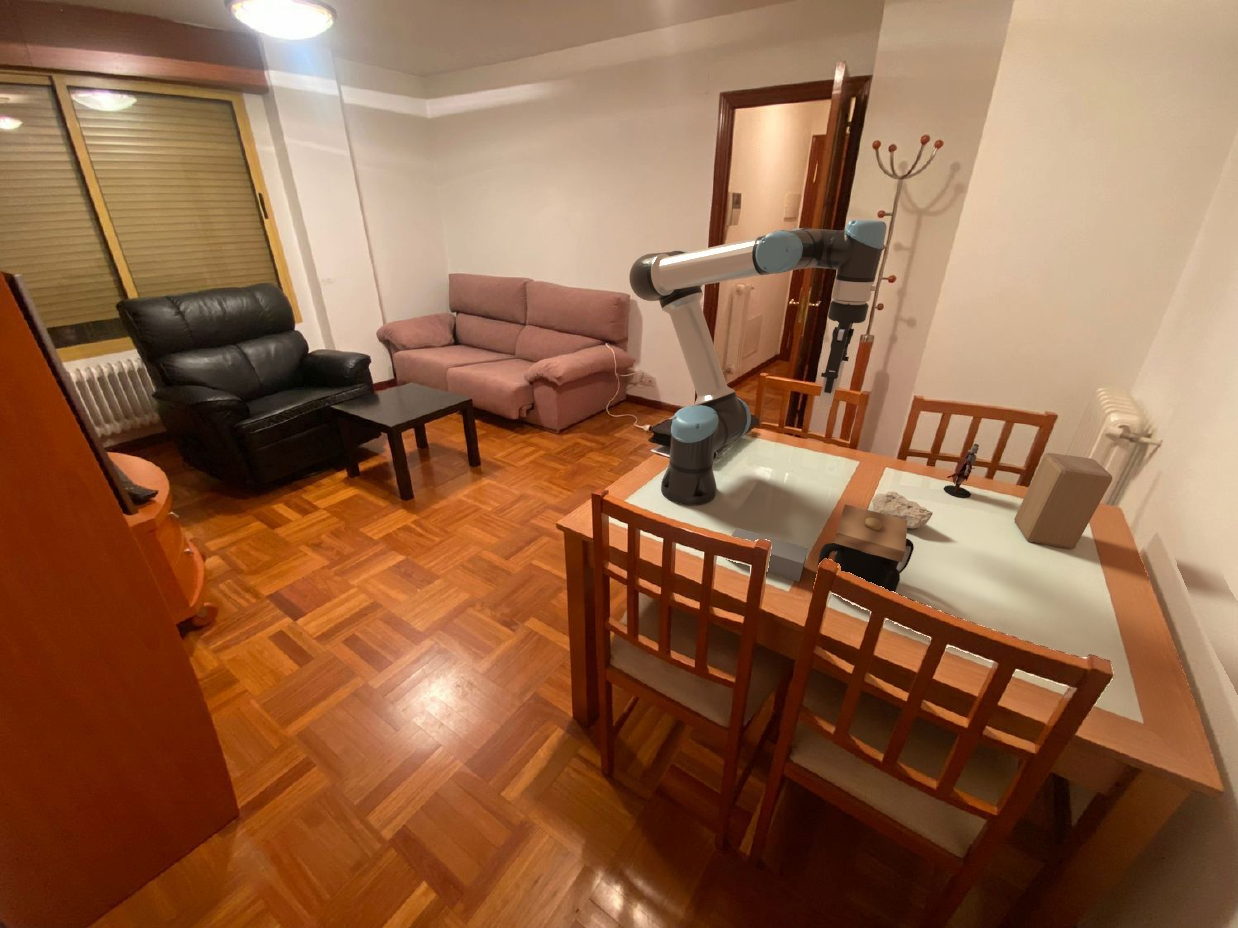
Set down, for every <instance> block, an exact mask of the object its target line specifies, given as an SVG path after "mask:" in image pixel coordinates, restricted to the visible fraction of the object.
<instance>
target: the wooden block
mask: <svg viewBox="0 0 1238 928" xmlns="http://www.w3.org/2000/svg"><path fill="white" fill-rule="evenodd" d="M1112 481H1113V475H1112V474H1110V472H1108V471H1107V470H1106V469H1105V468H1104V467H1103V466H1102V465H1101V464H1100V463H1099V462H1097V460H1095V459H1094V458H1092V457H1083V456H1076V455H1070V454H1069V455H1067V454H1061V453H1054V452H1046V453H1045V454H1044V455H1043V456H1042V458H1041V460H1040V463H1039V465H1038V467H1037V469H1036V471H1035V474H1034V477H1033V478H1032V479H1031V482H1030V484H1029V486H1028V489H1027V490H1026V493H1025V496H1024V497H1023V499H1022V501H1021V503H1020V506H1019V508H1018V510H1017V512H1016V514H1015V516H1014V524H1016V527H1017V528H1018V529H1019V531H1020V533H1021V534H1022V536H1023V537H1024V539H1025V541H1028V542H1032V543H1037V544H1042V545H1047V546H1054V547H1058V548H1065V549H1070V550H1071V549H1075V548H1076V547H1077V545H1078V543H1079V541H1080V539H1082V538H1081V537H1082V536H1083V534H1084V532H1085V530H1086V528H1087V526H1088V524H1090V521H1091V520H1092V517H1093V516H1094V514H1095V512H1096V510H1097V508H1098V507H1099V505H1100V503H1101V501H1102V500H1103V498H1104V496H1105V494H1106V492H1107V490H1108V489H1109V487H1110V485H1111V483H1112Z"/></svg>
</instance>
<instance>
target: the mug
mask: <svg viewBox="0 0 1238 928" xmlns="http://www.w3.org/2000/svg"><path fill="white" fill-rule="evenodd" d="M914 548H915V546H914V542H912V540H910V539H909V538H906V550H905V554H904V557H903V560H902V562H898V561H895V560H891V559H888V558H884V557H881V556H878V555H874V554H871V553H867V552H864V551H860V550H857V549H853V548H850V547H846V546H843V545H839V544H836V543H834V542H828V543H825V544H824V545H822V548H821V550H820V553H819V557H818V560H817V566H818V565H819V563H820V562H821V561H822V560H823V559H824V558H827V559H828V560H829V558H830V556H831V554H832V553H833V552H834V558H833V563H834V562H836V563H839V564H840V566H841V571H845V572H850V573H852V574H854V575H856V576H858V577H861V578H863V579H865V580H866V581H868V582H872V583H874V584H876V585H878V586H882V587H884V588H885V589H888V590H889V591H894V592H895V593H896V591H897V589H898V585H899V582H900V579H901V575H900V574H901V573H902V572H903V571H904V570H905V569H906V568H907V566H908V564H909V562H910V561H911V558H912V555H913V552H914ZM884 588H883V589H884Z"/></svg>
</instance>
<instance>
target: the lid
mask: <svg viewBox="0 0 1238 928" xmlns="http://www.w3.org/2000/svg"><path fill="white" fill-rule="evenodd" d="M839 520H840V521H839V523H838V527H837V530H836V534H835V537H834V541H833V543H836V544H839V545H843V546H846V547H850V548H853V549H857V550H860V551H864V552H867V553H871V554H874V555H878V556H881V557H884V558H888V559H891V560H895V561H898V562H902V560H903V557H904V554H905V550H906V539H907V533H908V528H907V522H908V520H905V519H901V518H898V517H894V516H890V515H886V514H882V513H878V512H874V510H869V509H866V508H863V507H857V506H854V505H851V504H850V505H849V504H846V503H844V506H843V509H842V513H841V516H840V519H839Z"/></svg>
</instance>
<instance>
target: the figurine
mask: <svg viewBox="0 0 1238 928" xmlns="http://www.w3.org/2000/svg"><path fill="white" fill-rule="evenodd" d="M979 446H980V445H979V444H978V443H974V444H973V446H971V448H970V449H968V450H966V452H965V453H964V457H963V460H962V462H961V463H960V464H959V466H958V467H957V469H956V471H955V472H953V474H951V475H948V476H946V478H947V479H950V478H952V483H953V484H954V485H950V484H949V485H945V486H944V487H943V491H944V493H946V494H948V495H949V496H952V497H956V498H957V499H958V498H959V499H969V498H970V497H971V496H972V493H971V492H970V491H969V490H968V489H966V488H965V487H961V485H962V483H963V482H965V481H968V480H969V478H970V477H969V476H970V475H971V473H973V472H972V470H975V467H973V466H974V464H975V463H976V459H977V455H976V454H978V451H979Z"/></svg>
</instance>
